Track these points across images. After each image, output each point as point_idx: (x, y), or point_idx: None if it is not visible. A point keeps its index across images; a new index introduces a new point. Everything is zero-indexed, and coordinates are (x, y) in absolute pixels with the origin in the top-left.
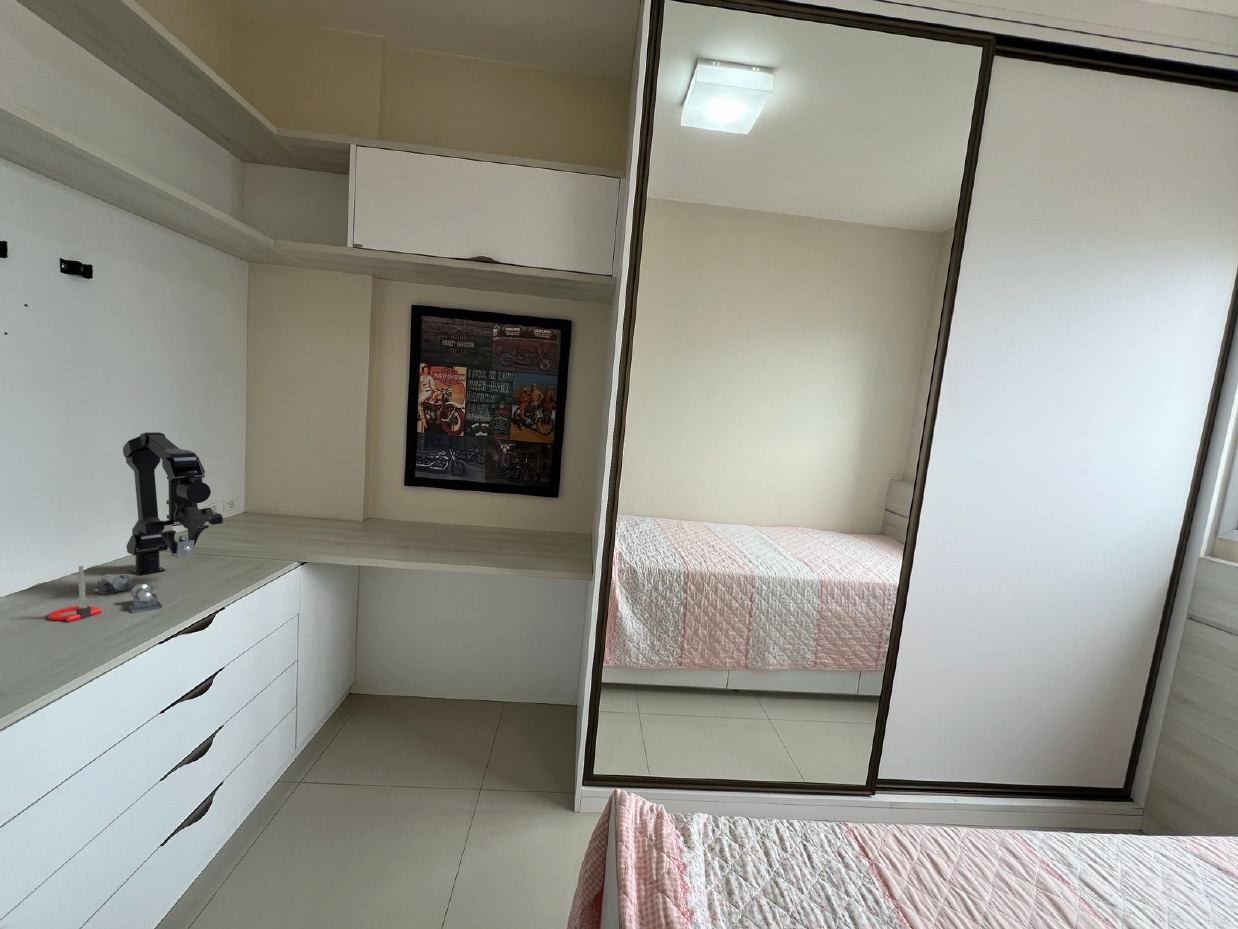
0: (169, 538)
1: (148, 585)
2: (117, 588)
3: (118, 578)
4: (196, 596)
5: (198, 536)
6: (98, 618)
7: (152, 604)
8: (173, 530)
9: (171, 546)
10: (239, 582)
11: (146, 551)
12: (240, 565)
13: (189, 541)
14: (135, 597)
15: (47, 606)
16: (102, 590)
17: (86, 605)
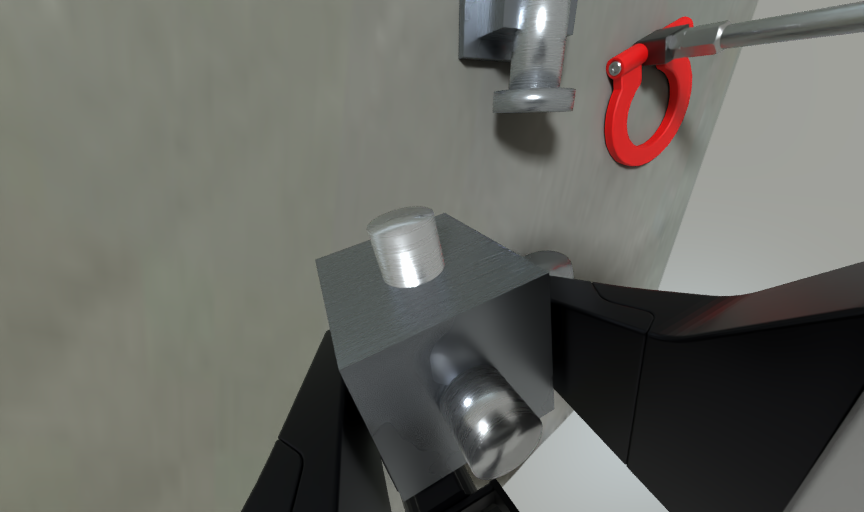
0: (681, 298)
1: (531, 92)
2: (542, 253)
3: (567, 270)
4: (298, 47)
5: (256, 492)
6: (625, 3)
7: None
8: (849, 411)
9: (549, 277)
10: (9, 199)
11: (462, 509)
12: (50, 508)
13: (403, 328)
14: (569, 20)
15: (642, 221)
16: None
17: (684, 32)
